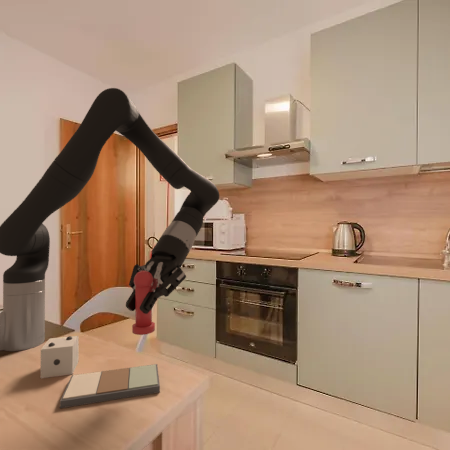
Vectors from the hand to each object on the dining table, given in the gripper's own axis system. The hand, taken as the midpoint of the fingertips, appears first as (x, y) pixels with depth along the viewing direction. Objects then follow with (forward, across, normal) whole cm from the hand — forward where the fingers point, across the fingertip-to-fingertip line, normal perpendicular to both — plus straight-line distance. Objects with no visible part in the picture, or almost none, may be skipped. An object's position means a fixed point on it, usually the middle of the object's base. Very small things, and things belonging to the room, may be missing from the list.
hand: (136, 309), depth 56 cm
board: (+12, -4, +9) cm, 16 cm away
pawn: (+2, 0, +5) cm, 5 cm away
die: (+13, -20, +8) cm, 25 cm away
